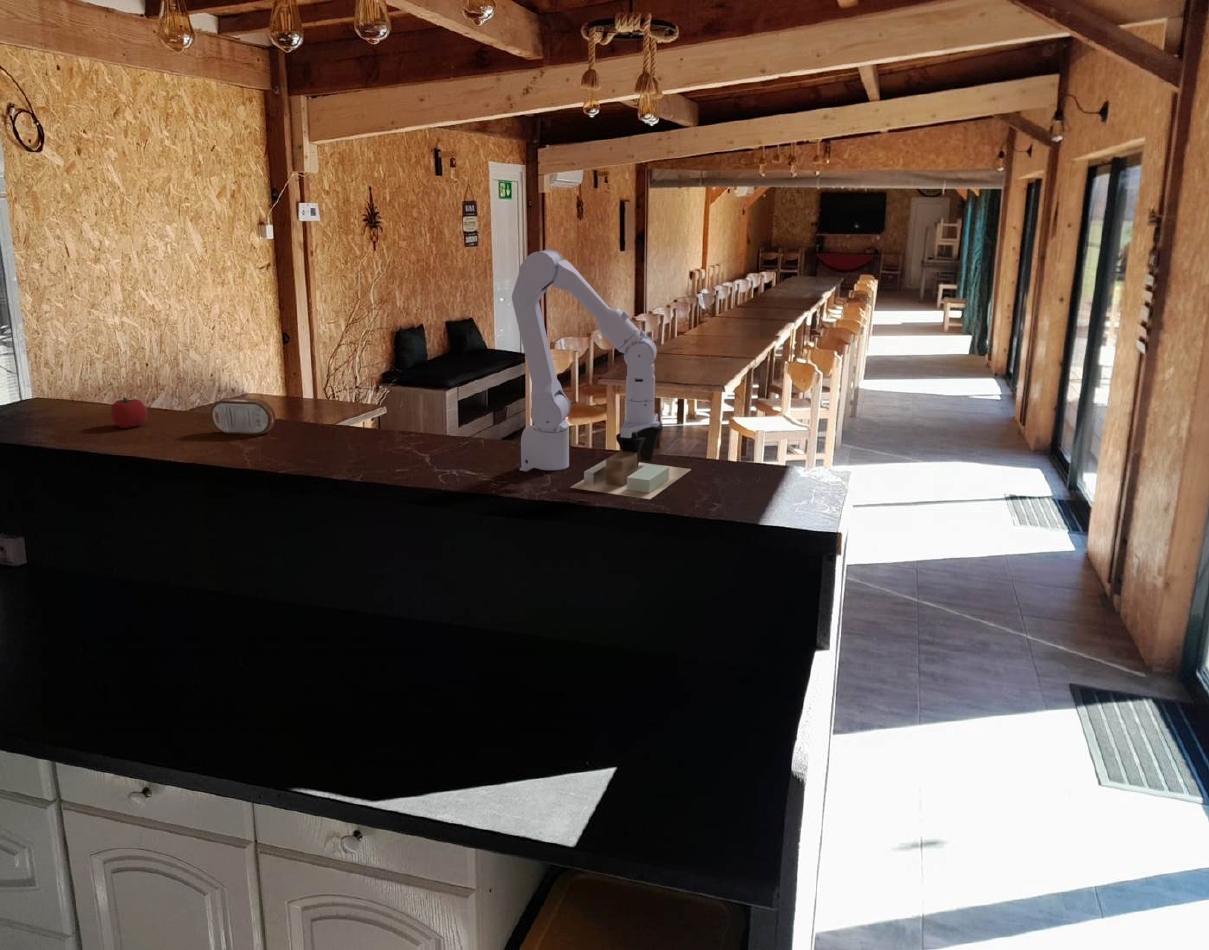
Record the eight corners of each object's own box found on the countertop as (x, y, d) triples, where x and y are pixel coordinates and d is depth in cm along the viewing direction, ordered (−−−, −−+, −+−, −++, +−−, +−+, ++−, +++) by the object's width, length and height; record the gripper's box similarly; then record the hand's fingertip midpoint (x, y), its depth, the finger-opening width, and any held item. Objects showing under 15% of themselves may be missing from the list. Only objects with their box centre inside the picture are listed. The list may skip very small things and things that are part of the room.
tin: (277, 433, 223) (274, 398, 221) (271, 436, 220) (268, 400, 218) (217, 431, 225) (213, 396, 222) (210, 434, 222) (206, 399, 219)
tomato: (121, 432, 223) (117, 402, 221) (106, 426, 228) (101, 397, 226) (154, 425, 229) (150, 396, 227) (138, 421, 234) (134, 392, 232)
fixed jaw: (584, 484, 181) (584, 471, 180) (606, 471, 190) (606, 459, 189) (593, 485, 180) (593, 473, 180) (615, 472, 189) (615, 460, 188)
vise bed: (570, 492, 179) (570, 487, 179) (617, 464, 198) (618, 459, 198) (649, 504, 173) (649, 499, 172) (691, 473, 192) (691, 469, 191)
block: (605, 484, 181) (605, 459, 180) (620, 474, 187) (621, 450, 186) (622, 486, 180) (622, 461, 178) (636, 477, 186) (637, 452, 184)
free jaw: (626, 489, 177) (626, 477, 177) (647, 476, 186) (647, 464, 185) (649, 493, 175) (649, 480, 175) (669, 479, 184) (669, 467, 183)
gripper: (644, 407, 179) (643, 476, 183) (672, 394, 191) (670, 458, 195) (611, 404, 182) (610, 471, 186) (640, 391, 194) (639, 454, 198)
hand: (639, 464), depth 191 cm, fingers open, 7 cm apart
